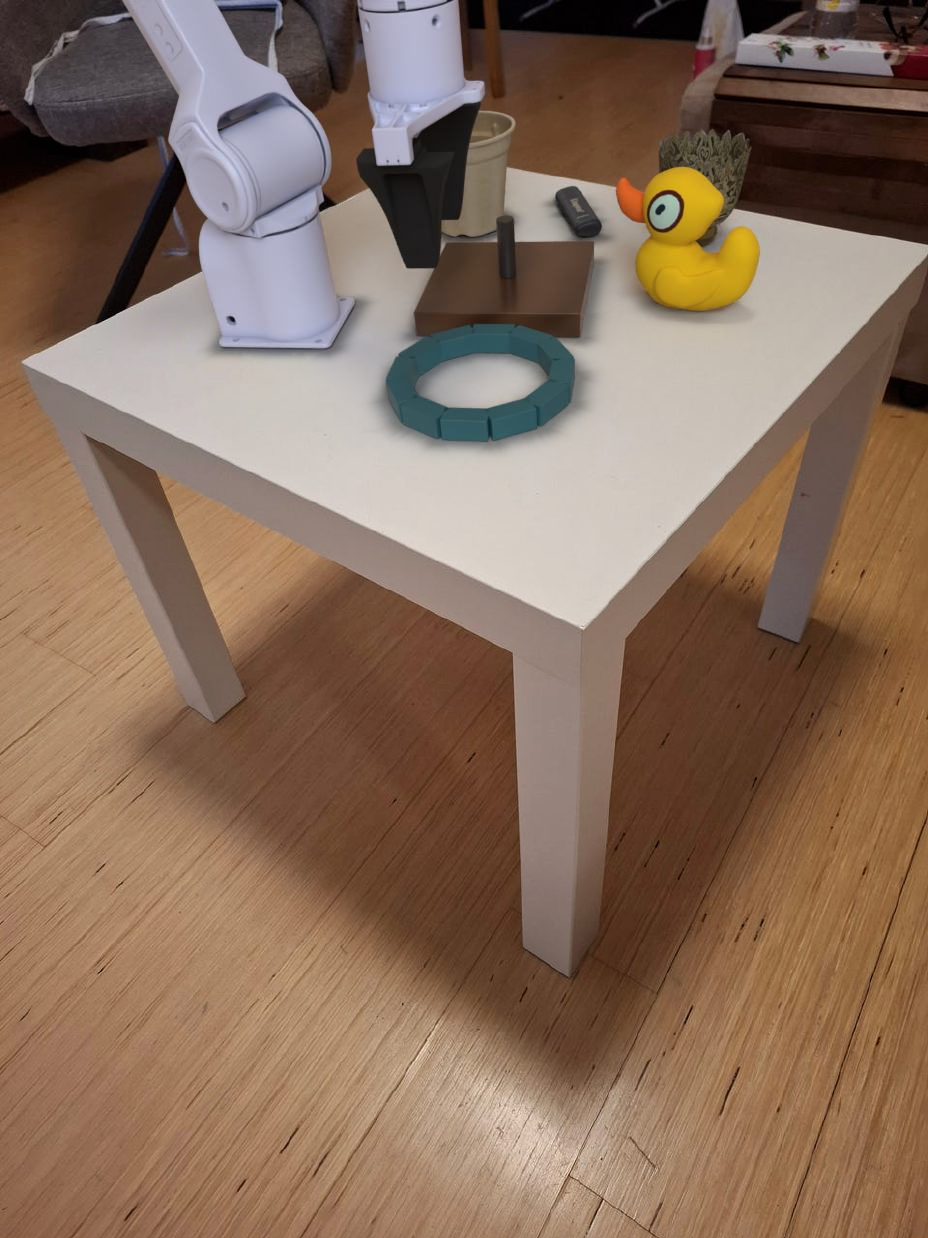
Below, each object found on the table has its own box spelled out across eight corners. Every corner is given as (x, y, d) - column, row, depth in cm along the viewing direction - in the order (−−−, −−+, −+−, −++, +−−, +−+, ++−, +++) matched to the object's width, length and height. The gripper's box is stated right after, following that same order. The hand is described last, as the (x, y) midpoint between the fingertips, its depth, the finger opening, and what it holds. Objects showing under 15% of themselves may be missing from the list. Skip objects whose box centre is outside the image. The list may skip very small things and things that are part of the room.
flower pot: (402, 235, 84) (388, 137, 78) (461, 199, 89) (453, 104, 83) (480, 253, 79) (473, 151, 73) (538, 215, 84) (536, 116, 78)
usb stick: (553, 202, 86) (553, 186, 85) (579, 199, 86) (580, 182, 85) (575, 240, 80) (575, 223, 78) (603, 236, 80) (604, 219, 79)
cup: (738, 258, 74) (752, 157, 68) (650, 258, 76) (656, 159, 70) (737, 222, 79) (750, 126, 73) (654, 223, 81) (661, 128, 75)
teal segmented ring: (371, 437, 60) (367, 417, 59) (413, 341, 69) (410, 322, 68) (563, 444, 58) (562, 423, 57) (581, 343, 67) (581, 324, 65)
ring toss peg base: (416, 336, 70) (405, 255, 65) (448, 264, 78) (440, 188, 74) (580, 337, 67) (581, 253, 63) (594, 263, 76) (595, 184, 71)
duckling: (598, 306, 70) (601, 175, 63) (626, 278, 73) (632, 150, 66) (736, 333, 66) (756, 194, 59) (760, 301, 69) (782, 166, 62)
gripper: (452, 29, 44) (473, 290, 54) (497, -32, 54) (508, 198, 63) (319, 37, 45) (363, 290, 55) (387, -24, 55) (414, 199, 65)
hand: (434, 241), depth 59 cm, fingers open, 7 cm apart
